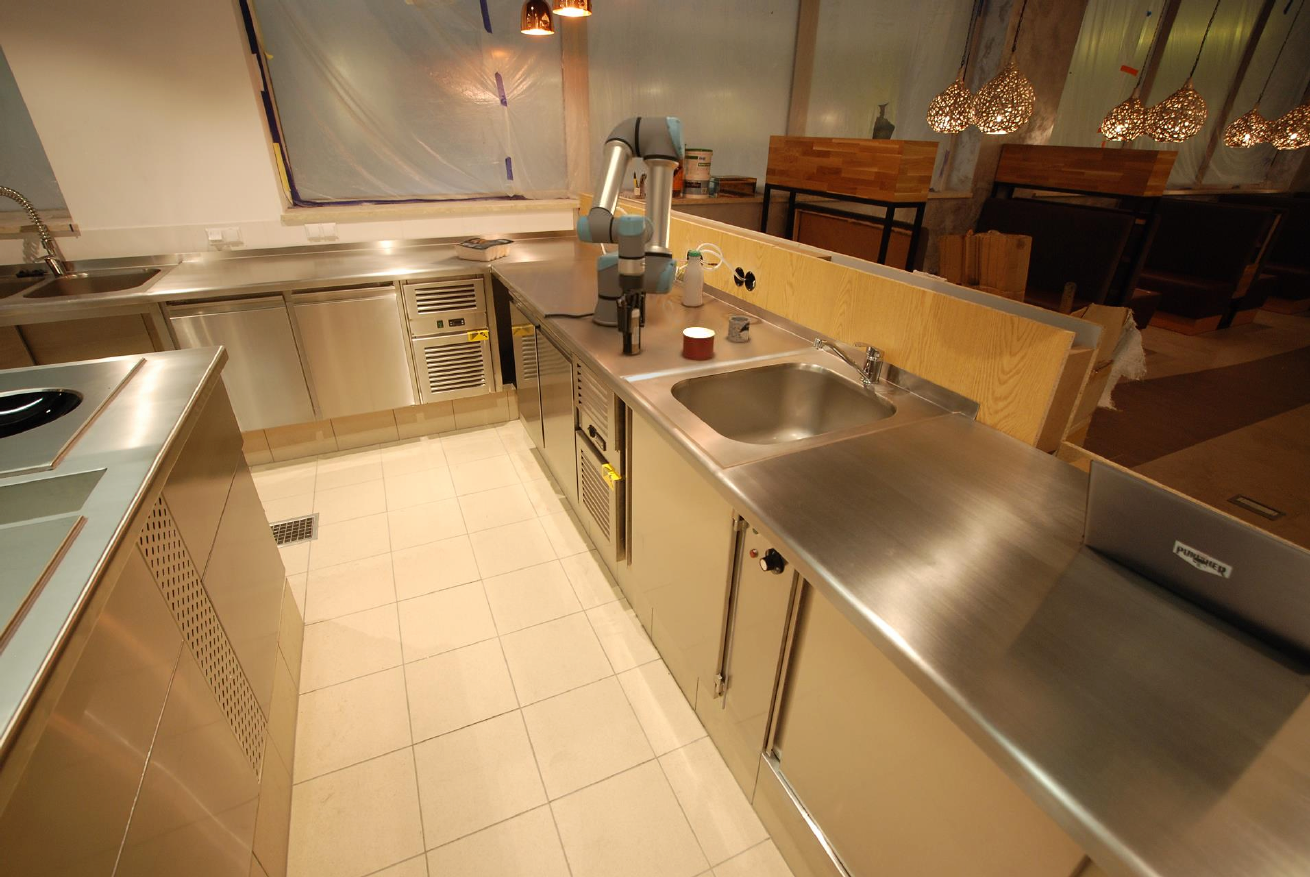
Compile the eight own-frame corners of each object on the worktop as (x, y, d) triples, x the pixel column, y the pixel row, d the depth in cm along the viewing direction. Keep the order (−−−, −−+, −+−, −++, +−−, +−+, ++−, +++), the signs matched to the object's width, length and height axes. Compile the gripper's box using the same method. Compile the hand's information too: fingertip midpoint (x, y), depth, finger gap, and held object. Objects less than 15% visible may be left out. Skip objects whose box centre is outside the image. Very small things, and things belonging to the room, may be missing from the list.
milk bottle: (700, 307, 220) (703, 253, 210) (681, 306, 221) (683, 252, 211) (703, 302, 226) (706, 250, 217) (684, 301, 227) (686, 249, 218)
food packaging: (478, 236, 306) (514, 239, 299) (480, 251, 310) (516, 254, 303) (447, 244, 286) (486, 247, 279) (450, 259, 289) (487, 263, 282)
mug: (742, 343, 184) (744, 323, 180) (724, 339, 187) (725, 319, 183) (755, 335, 191) (757, 315, 188) (737, 331, 194) (738, 312, 191)
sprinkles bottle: (621, 352, 174) (620, 309, 168) (631, 349, 177) (631, 306, 171) (632, 356, 172) (632, 312, 165) (642, 352, 175) (642, 309, 168)
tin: (677, 356, 172) (677, 334, 169) (690, 347, 180) (691, 325, 176) (705, 362, 168) (706, 339, 165) (718, 352, 176) (719, 330, 172)
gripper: (626, 280, 155) (627, 361, 166) (657, 268, 168) (656, 344, 180) (603, 277, 158) (605, 357, 169) (635, 265, 171) (635, 340, 183)
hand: (631, 350), depth 174 cm, fingers closed on sprinkles bottle, 4 cm apart
